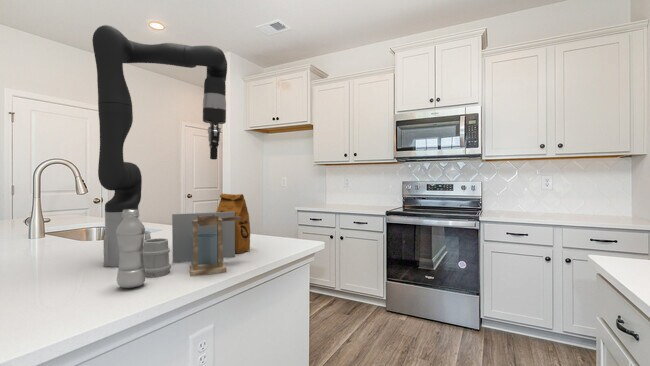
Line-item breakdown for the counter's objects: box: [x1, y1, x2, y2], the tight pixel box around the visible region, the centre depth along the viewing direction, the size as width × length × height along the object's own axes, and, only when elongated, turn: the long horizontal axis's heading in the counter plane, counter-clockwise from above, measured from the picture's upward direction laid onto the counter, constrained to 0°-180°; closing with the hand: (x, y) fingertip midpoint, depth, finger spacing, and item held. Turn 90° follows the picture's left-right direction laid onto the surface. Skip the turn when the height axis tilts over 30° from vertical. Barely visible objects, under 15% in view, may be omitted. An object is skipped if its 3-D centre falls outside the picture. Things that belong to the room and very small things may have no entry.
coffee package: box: [216, 193, 251, 254], centre depth 123 cm, size 10×12×22 cm
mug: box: [143, 230, 172, 278], centre depth 95 cm, size 8×12×12 cm, turn 51°
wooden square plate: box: [198, 214, 241, 226], centre depth 99 cm, size 13×13×3 cm
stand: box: [189, 218, 227, 277], centre depth 97 cm, size 10×7×16 cm
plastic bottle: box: [116, 208, 147, 289], centre depth 83 cm, size 6×7×20 cm
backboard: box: [171, 211, 236, 264], centre depth 110 cm, size 20×1×16 cm, turn 114°
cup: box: [190, 233, 217, 266], centre depth 106 cm, size 9×9×9 cm
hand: (213, 159), depth 110 cm, fingers closed
